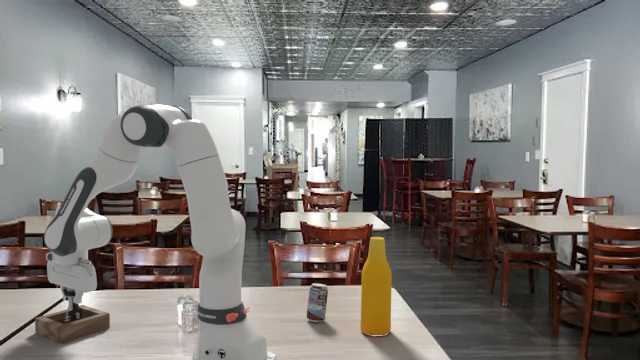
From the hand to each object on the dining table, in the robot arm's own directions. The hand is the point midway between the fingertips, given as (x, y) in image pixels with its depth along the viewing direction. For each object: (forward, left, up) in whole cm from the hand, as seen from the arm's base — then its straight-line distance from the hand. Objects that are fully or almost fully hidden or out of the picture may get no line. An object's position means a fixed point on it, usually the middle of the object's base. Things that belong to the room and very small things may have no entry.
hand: (72, 301), depth 147 cm
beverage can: (-56, -49, -9) cm, 75 cm away
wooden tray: (0, 0, -9) cm, 9 cm away
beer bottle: (-76, -51, -9) cm, 92 cm away
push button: (0, 0, -6) cm, 6 cm away
